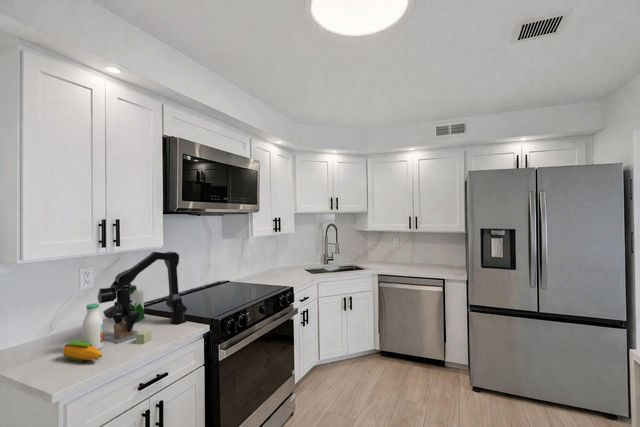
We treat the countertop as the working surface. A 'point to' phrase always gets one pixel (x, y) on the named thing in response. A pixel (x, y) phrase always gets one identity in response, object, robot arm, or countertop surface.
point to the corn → (81, 351)
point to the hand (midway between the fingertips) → (123, 330)
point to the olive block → (143, 337)
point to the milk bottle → (93, 327)
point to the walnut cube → (121, 330)
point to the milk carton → (137, 301)
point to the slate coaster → (118, 340)
